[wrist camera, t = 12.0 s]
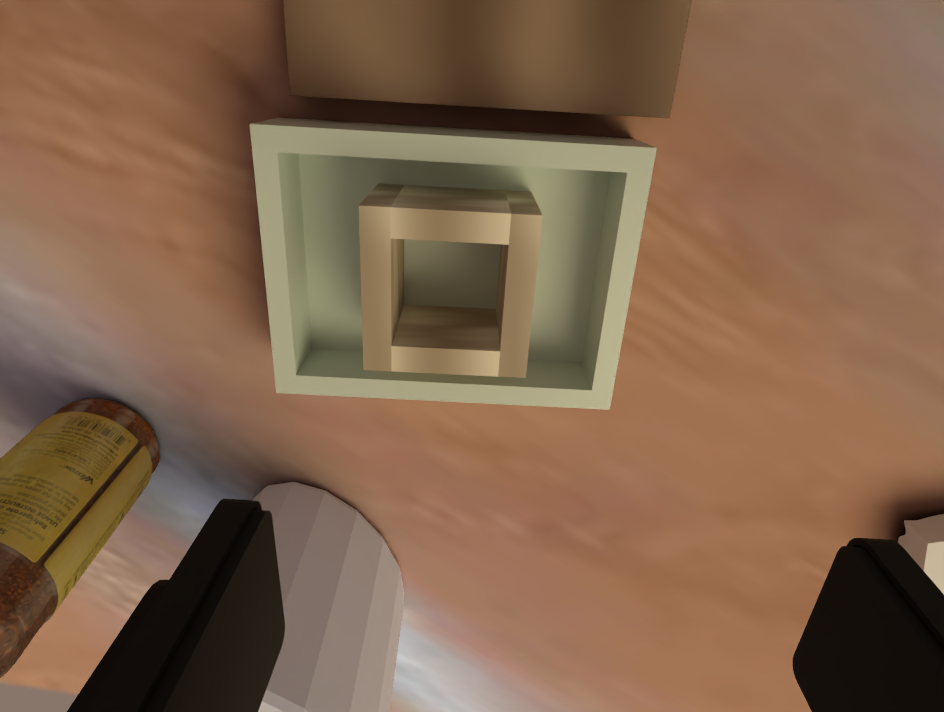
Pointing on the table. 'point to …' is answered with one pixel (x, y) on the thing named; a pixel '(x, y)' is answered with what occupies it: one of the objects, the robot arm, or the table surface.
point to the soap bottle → (332, 605)
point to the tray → (448, 252)
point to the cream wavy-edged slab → (926, 546)
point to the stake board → (490, 53)
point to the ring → (440, 327)
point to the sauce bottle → (64, 508)
